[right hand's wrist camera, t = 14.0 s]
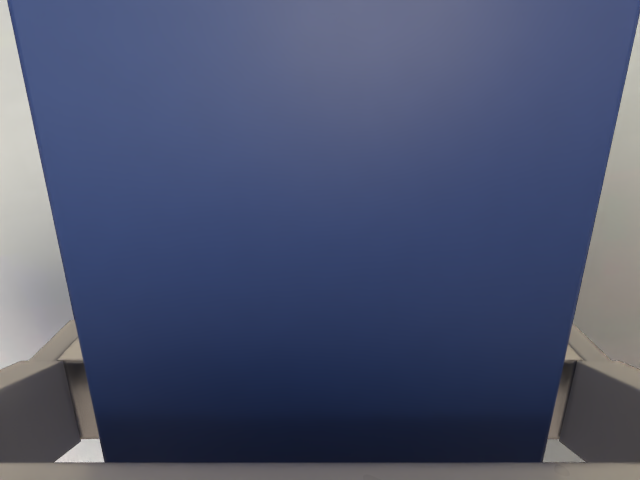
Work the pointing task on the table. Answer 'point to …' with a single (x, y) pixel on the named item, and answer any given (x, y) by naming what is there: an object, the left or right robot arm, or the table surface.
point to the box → (324, 217)
